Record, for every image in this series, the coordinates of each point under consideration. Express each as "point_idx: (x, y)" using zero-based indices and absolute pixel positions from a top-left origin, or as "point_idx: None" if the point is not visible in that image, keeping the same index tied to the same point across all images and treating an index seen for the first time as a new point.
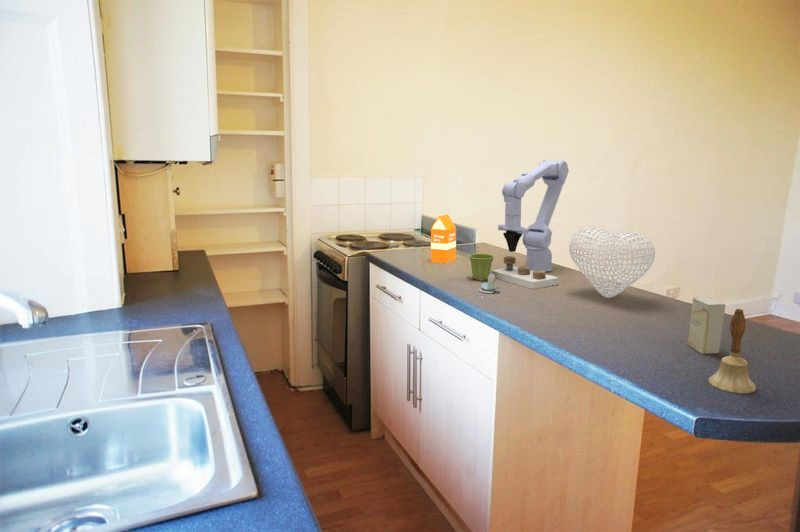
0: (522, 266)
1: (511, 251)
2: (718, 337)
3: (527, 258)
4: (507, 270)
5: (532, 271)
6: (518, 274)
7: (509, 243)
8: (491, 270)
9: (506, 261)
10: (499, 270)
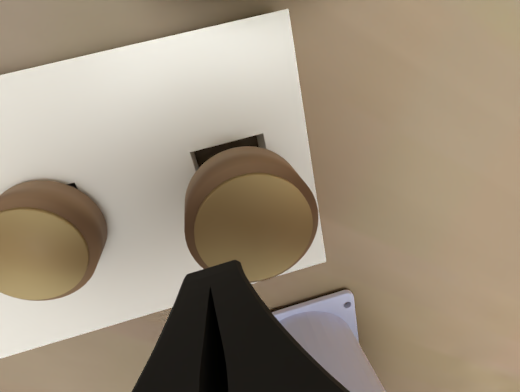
0: (79, 259)
1: (185, 279)
2: None
3: (339, 374)
4: None
5: (126, 308)
6: (30, 175)
7: (228, 365)
8: (282, 10)
9: (215, 163)
10: (246, 84)
